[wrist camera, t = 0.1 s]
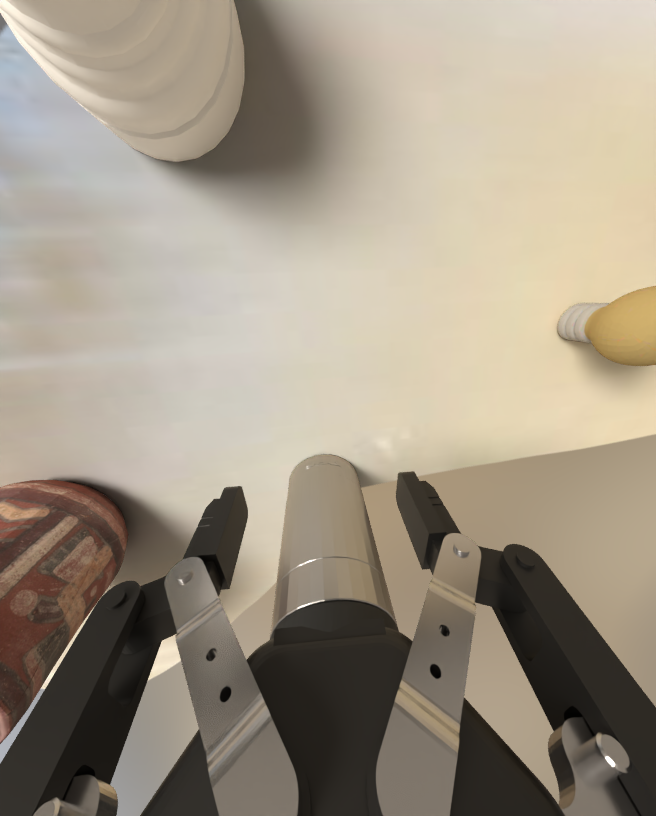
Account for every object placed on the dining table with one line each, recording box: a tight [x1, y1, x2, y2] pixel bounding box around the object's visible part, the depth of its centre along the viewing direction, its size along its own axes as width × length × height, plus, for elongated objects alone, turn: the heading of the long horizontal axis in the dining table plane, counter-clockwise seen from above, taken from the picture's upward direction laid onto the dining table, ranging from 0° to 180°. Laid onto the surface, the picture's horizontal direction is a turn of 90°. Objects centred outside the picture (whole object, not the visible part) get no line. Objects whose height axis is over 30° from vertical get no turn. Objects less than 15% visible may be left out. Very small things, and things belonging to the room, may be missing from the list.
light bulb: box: [558, 286, 656, 366], centre depth 23 cm, size 6×6×10 cm
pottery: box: [0, 480, 128, 744], centre depth 26 cm, size 18×18×18 cm
